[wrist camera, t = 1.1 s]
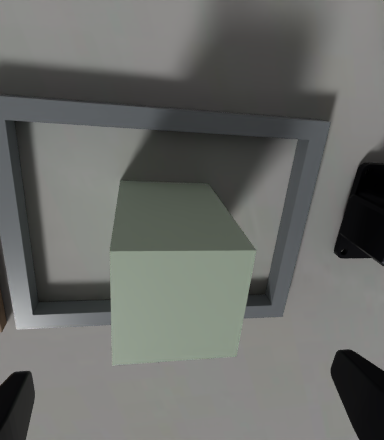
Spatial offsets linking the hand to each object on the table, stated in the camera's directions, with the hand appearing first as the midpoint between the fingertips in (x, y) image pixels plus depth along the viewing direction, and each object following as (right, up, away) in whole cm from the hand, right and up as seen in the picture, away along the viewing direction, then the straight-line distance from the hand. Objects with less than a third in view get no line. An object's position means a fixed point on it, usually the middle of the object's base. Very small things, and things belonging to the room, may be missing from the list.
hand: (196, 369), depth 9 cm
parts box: (-2, +4, +10) cm, 11 cm away
